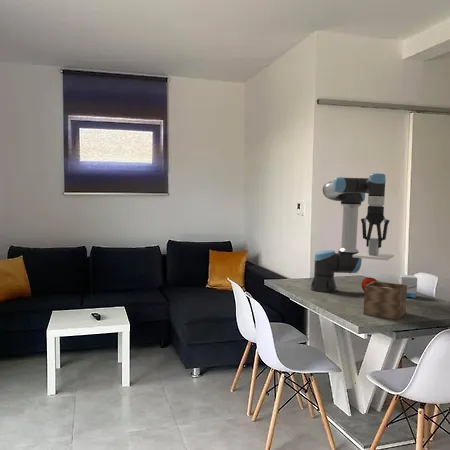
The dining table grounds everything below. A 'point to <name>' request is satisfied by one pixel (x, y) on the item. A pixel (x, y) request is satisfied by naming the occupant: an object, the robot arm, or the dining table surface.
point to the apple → (367, 282)
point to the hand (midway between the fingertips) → (373, 253)
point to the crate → (385, 299)
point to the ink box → (409, 284)
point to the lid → (373, 252)
